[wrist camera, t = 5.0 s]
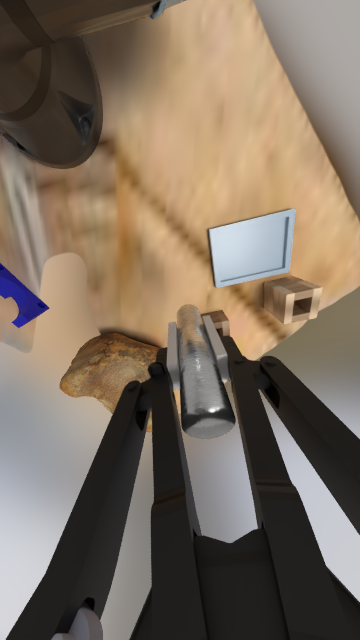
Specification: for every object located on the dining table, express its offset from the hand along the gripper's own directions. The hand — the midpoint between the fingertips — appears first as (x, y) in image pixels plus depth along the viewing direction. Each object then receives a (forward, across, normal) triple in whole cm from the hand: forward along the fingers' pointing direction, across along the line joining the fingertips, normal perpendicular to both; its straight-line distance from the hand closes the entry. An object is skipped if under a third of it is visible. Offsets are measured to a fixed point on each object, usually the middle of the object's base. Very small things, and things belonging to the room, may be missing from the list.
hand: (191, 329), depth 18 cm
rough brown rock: (+20, -15, -16) cm, 29 cm away
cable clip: (+19, -34, +6) cm, 40 cm away
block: (+19, +20, -6) cm, 29 cm away
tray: (+19, +14, +4) cm, 24 cm away
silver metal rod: (+4, 0, 0) cm, 4 cm away
